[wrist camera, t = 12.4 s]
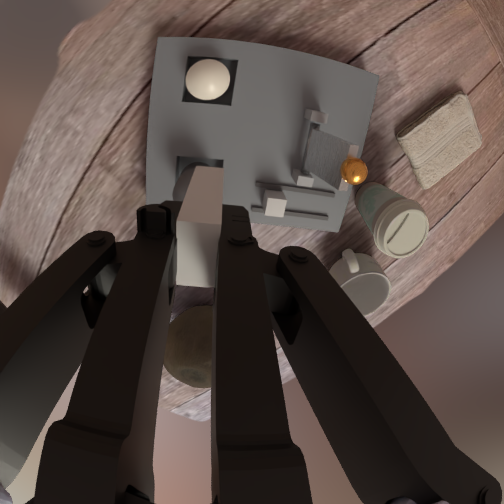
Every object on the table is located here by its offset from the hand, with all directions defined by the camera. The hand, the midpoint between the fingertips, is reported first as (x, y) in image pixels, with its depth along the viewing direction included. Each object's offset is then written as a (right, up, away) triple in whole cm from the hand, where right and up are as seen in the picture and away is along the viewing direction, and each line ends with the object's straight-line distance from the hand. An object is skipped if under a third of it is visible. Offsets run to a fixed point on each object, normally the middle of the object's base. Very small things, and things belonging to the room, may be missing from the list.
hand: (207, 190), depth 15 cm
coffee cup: (+22, +6, +28) cm, 36 cm away
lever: (+9, +9, +17) cm, 21 cm away
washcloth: (+35, +17, +22) cm, 45 cm away
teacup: (+20, -5, +35) cm, 40 cm away
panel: (+3, +13, +21) cm, 25 cm away
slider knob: (+5, +4, +22) cm, 23 cm away
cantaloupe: (-7, -16, +39) cm, 43 cm away
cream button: (-3, +18, +15) cm, 24 cm away
